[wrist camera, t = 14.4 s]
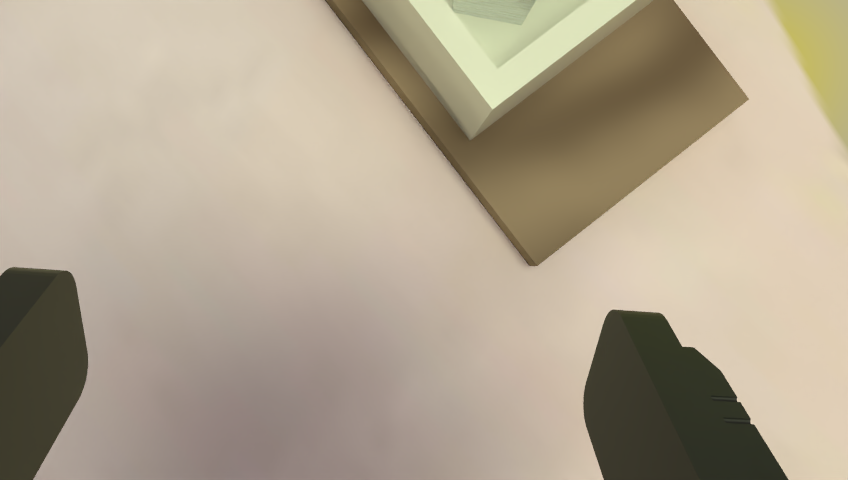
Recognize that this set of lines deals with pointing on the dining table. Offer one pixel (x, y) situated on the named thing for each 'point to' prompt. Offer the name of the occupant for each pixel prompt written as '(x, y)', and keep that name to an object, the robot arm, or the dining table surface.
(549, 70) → the pale open square box
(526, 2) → the grey tall bar
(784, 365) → the dining table surface
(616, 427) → the robot arm
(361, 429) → the dining table surface
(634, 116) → the serving board
